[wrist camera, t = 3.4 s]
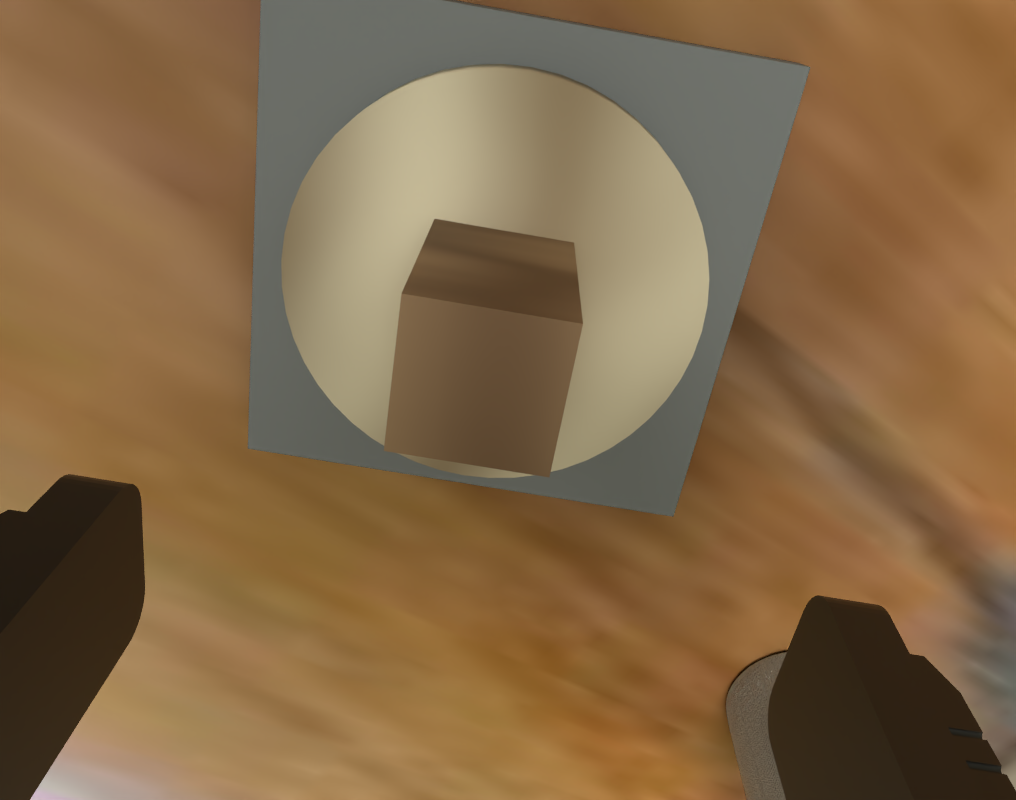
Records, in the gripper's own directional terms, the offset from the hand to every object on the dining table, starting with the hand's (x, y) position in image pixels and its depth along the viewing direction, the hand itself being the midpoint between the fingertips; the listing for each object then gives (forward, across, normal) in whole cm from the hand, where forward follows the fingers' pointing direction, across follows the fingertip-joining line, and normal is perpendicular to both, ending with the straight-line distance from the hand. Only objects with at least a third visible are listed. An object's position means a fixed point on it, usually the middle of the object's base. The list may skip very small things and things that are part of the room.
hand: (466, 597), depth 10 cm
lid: (+12, 0, 0) cm, 12 cm away
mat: (+13, 0, 0) cm, 13 cm away
